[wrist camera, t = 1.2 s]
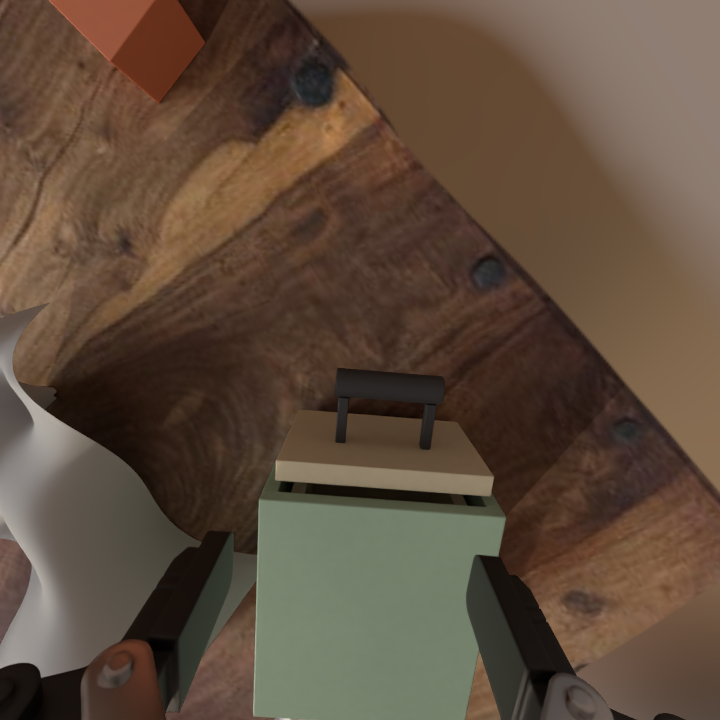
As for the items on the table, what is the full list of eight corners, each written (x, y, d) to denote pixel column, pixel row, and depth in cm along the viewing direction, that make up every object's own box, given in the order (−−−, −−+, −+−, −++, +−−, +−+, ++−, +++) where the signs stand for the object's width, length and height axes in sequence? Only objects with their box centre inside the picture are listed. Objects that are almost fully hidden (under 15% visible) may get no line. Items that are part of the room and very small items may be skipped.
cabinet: (291, 425, 27) (258, 498, 18) (458, 438, 27) (507, 517, 18) (283, 587, 30) (252, 717, 21) (432, 597, 31) (463, 729, 22)
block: (144, -23, 21) (87, -103, 16) (206, 43, 21) (167, -17, 17) (98, 42, 21) (31, -18, 17) (159, 104, 22) (109, 62, 18)
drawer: (301, 348, 25) (278, 377, 18) (466, 362, 25) (510, 396, 18) (290, 568, 29) (267, 664, 22) (432, 578, 29) (456, 676, 22)
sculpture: (-121, 441, 27) (-380, 531, 18) (61, 293, 25) (-125, 304, 15) (114, 656, 32) (11, 818, 22) (286, 549, 29) (252, 680, 20)
